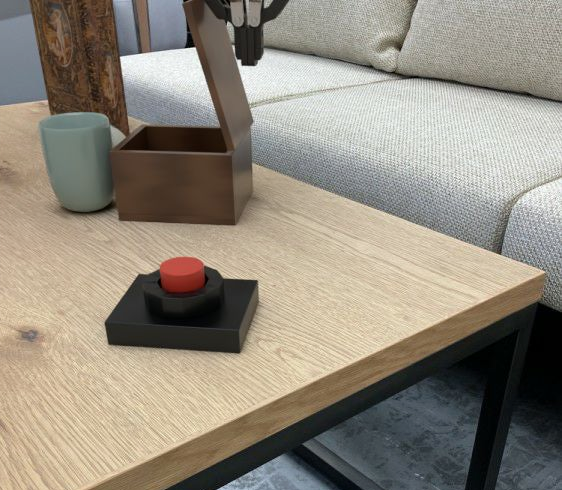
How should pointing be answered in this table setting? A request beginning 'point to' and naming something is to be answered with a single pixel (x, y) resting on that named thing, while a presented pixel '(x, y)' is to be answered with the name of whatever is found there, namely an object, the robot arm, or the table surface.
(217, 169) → the chest
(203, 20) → the lid
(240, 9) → the robot arm
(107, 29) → the book
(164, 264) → the button
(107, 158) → the cup
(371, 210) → the table surface
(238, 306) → the black button base
